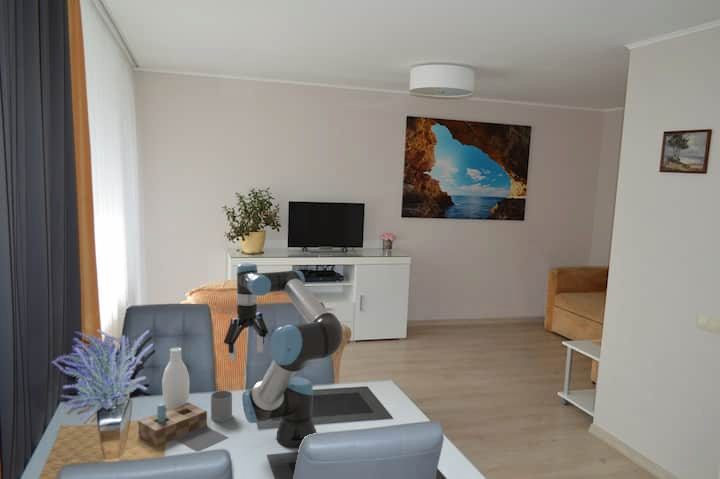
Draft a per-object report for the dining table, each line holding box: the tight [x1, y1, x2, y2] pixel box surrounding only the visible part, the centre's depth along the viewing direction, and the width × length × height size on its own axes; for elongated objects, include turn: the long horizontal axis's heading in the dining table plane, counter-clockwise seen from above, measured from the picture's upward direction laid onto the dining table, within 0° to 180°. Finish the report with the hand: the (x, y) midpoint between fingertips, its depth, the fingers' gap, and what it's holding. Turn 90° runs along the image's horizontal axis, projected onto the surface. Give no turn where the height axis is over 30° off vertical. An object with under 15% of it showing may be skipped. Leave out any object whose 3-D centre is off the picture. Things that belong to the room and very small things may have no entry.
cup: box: [210, 390, 233, 423], centre depth 220 cm, size 8×8×10 cm
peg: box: [156, 402, 167, 424], centre depth 204 cm, size 3×3×12 cm
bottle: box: [161, 347, 191, 411], centre depth 229 cm, size 11×11×25 cm
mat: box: [174, 426, 229, 452], centre depth 203 cm, size 14×14×1 cm
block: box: [137, 402, 208, 446], centre depth 209 cm, size 12×22×6 cm, turn 142°
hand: (246, 356), depth 211 cm, fingers open, 13 cm apart
